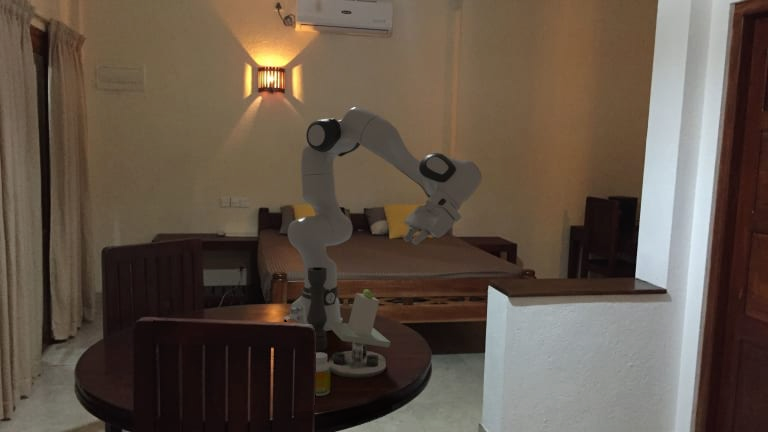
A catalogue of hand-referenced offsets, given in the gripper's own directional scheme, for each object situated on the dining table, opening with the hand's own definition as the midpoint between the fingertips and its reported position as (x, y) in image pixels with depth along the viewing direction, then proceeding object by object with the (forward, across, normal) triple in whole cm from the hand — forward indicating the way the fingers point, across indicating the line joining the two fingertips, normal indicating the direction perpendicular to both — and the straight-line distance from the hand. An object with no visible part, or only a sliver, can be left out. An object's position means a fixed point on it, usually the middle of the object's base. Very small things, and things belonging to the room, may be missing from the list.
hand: (409, 241), depth 162 cm
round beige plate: (+36, 0, +14) cm, 39 cm away
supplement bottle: (+46, +13, +4) cm, 48 cm away
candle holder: (+41, -19, +9) cm, 46 cm away
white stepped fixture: (+30, 0, +8) cm, 30 cm away
